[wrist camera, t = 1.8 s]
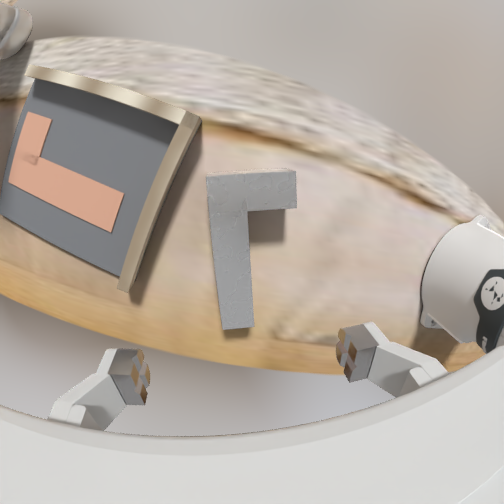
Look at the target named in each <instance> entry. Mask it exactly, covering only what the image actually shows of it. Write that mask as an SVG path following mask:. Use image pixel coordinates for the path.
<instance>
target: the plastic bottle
mask: <svg viewBox="0 0 504 504" xmlns="http://www.w3.org/2000/svg"><path fill="white" fill-rule="evenodd" d="M32 26H33V19H32V16H31V15H30V14H29V12H28V11H26V10H25V9H22V8H18V7H12V6H9V5H7V4H4V3H1V2H0V59H6V58H9V57H10V56H12V55H14V54H15V53H17V52H18V51H19V50H20V49H21V48H22V46H23V45H24V44H25V42H26V41H27V39H28V38H29V35H30V33H31V31H32Z"/></svg>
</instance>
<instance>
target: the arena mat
mask: <svg viewBox="0 0 504 504" xmlns="http://www.w3.org/2000/svg"><path fill="white" fill-rule="evenodd" d="M201 122H202V120H201ZM201 122H200V124H201ZM200 124H199V126H200ZM178 126H179V125H178V124H175V123H173V122H171V121H168V120H166V119H163V118H160V117H158V116H155V115H153V114H150V113H147V112H145V111H142V110H139V109H137V108H134V107H131V106H128V105H125V104H122V103H119V102H117V101H114V100H111V99H107V98H104V97H101V96H98V95H95V94H92V93H88V92H85V91H82V90H78V89H75V88H71V87H67V86H64V85H60V84H56V83H52V82H48V81H44V80H40V79H35V80H34V83H33V85H32V87H31V90H30V92H29V94H28V97H27V99H26V102H25V105H24V107H23V110H22V113H21V116H20V119H19V122H18V125H17V128H16V131H15V134H14V137H13V141H12V145H11V148H10V152H9V156H8V160H7V164H6V169H5V174H4V179H3V184H2V189H1V196H0V214H2V215H3V216H5V217H6V218H8V219H10V220H11V221H13V222H15V223H17V224H18V225H20V226H22V227H23V228H25V229H27V230H29V231H30V232H32V233H34V234H36V235H38V236H39V237H41V238H43V239H45V240H47V241H49V242H50V243H52V244H54V245H56V246H58V247H60V248H62V249H64V250H66V251H68V252H70V253H72V254H74V255H76V256H78V257H80V258H82V259H84V260H86V261H88V262H90V263H92V264H94V265H96V266H98V267H100V268H102V269H104V270H106V271H109V272H111V273H113V274H115V275H117V276H119V277H120V275H121V272H122V268H123V265H124V262H125V258H126V255H127V252H128V249H129V246H130V243H131V240H132V237H133V234H134V231H135V228H136V225H137V223H138V220H139V217H140V214H141V212H142V209H143V206H144V204H145V201H146V199H147V196H148V194H149V191H150V189H151V186H152V184H153V181H154V179H155V177H156V174H157V172H158V170H159V167H160V165H161V163H162V160H163V158H164V156H165V154H166V152H167V149H168V147H169V145H170V143H171V141H172V139H173V137H174V135H175V133H176V131H177V128H178ZM199 126H198V128H199ZM198 128H197V130H198ZM197 130H196V132H197ZM196 132H195V134H196ZM195 134H194V136H195ZM194 136H193V138H194ZM193 138H192V140H193ZM192 140H191V142H192ZM191 142H190V144H191ZM190 144H189V146H190ZM189 146H188V148H189ZM188 148H187V150H188ZM187 150H186V152H187ZM186 152H185V154H186ZM185 154H184V156H183V159H184V157H185ZM183 159H182V161H183ZM182 161H181V163H182ZM181 163H180V165H181ZM180 165H179V167H180ZM179 167H178V169H177V172H178V170H179ZM177 172H176V174H177ZM176 174H175V176H176ZM175 176H174V178H175ZM174 178H173V181H174ZM173 181H172V183H173ZM172 183H171V185H172ZM171 185H170V187H169V190H170V188H171ZM169 190H168V192H169ZM168 192H167V194H166V197H167V195H168ZM166 197H165V199H166ZM165 199H164V202H165ZM164 202H163V204H164ZM163 204H162V206H161V209H162V207H163ZM161 209H160V211H161ZM160 211H159V214H160ZM159 214H158V216H159ZM158 216H157V219H158ZM157 219H156V222H157ZM156 222H155V224H156ZM155 224H154V227H155ZM154 227H153V229H154ZM153 229H152V232H153ZM152 232H151V235H152ZM151 235H150V237H151ZM150 237H149V240H150ZM149 240H148V243H149ZM148 243H147V245H148ZM146 248H147V246H146ZM146 248H145V251H146ZM145 251H144V254H145ZM144 254H143V257H144ZM143 257H142V259H143ZM141 262H142V260H141ZM140 265H141V263H140ZM139 268H140V266H139ZM139 268H138V271H139ZM138 271H137V274H138ZM136 277H137V275H136ZM135 280H136V278H135ZM134 282H135V281H134Z"/></svg>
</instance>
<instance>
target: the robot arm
mask: <svg viewBox="0 0 504 504" xmlns="http://www.w3.org/2000/svg"><path fill="white" fill-rule="evenodd" d="M422 301H423V311H422V315H421V320H420V322H421V324H422V325H423V326H424V327H426V328H439V329H444V330H446V331H447V332H448V333H449V334H450V335H451V336H452V337H453V338H455V339H456V340H457V341H458V342H459V343H463V342H465V343H469V342H473V341H474V342H477V344H478V345H479V346H480V347H481V348H482V349H483V351H484V352H485V353H486V355H484V356H482V357H481V358H479V359H477V360H476V361H474V362H472V363H470V364H468V365H467V366H465V367H463V368H461V369H459V370H457V371H455V372H453V373H451V374H449V373H448V372H447V371H446V369H445V368H444V367H443V366H442V365H441V364H440V362H439V361H438V360H437V359H436V358H433V357H430V356H428V355H425V354H423V353H420V352H418V351H415V350H412V349H410V348H407V347H405V346H402V345H400V344H397V343H395V342H389V340H388V339H387V338H386V337H385V336H384V334H383V333H382V332H381V331H380V329H379V328H378V327H377V326H376V325H375V323H374V322H367V323H363V324H360V325H356V326H351V327H346V328H341V329H340V330H339V333H338V337H339V339H340V341H339V342H338V343H337V345H336V357H337V360H338V362H339V364H340V365H341V366H343V367H345V368H344V374H345V375H346V377H347V379H348V381H349V382H354V381H358V380H362V379H366V378H367V379H368V380H370V381H371V382H373V383H374V384H376V385H377V386H379V387H380V388H382V389H384V390H385V391H387V392H388V393H390V394H392V395H393V396H395V397H396V398H394V399H391V400H389V401H386V402H383V403H380V404H377V405H374V406H371V407H369V408H365V409H362V410H359V411H355V412H352V413H348V414H345V415H341V416H337V417H334V418H329V419H326V420H321V421H317V422H313V423H308V424H302V425H298V426H292V427H286V428H281V429H275V430H268V431H260V432H251V433H242V434H231V435H217V436H190V437H189V436H184V437H183V436H180V437H179V436H148V435H135V434H124V433H115V432H107V431H104V430H105V429H106V428H107V427H108V426H109V425H110V423H111V422H112V421H113V420H114V419H115V418H116V417H117V416H118V415H119V413H120V412H121V411H122V410H123V409H124V408H125V407H126V405H145V403H146V398H147V391H146V388H147V387H148V386H149V384H150V371H149V368H148V365H147V364H146V363H145V362H144V361H143V360H144V354H143V352H142V350H140V349H111V348H109V349H107V350H106V351H105V354H104V356H103V358H102V360H101V363H100V365H99V367H98V370H97V372H96V374H92V375H90V376H89V377H87V378H86V379H85V380H84V381H82V382H81V383H79V384H78V385H76V386H75V387H74V388H72V389H71V390H70V391H68V392H67V393H65V394H64V395H62V396H61V397H60V398H58V399H57V400H56V401H55V403H54V405H53V408H52V410H51V412H50V414H49V417H48V419H47V420H46V419H42V418H39V417H35V416H32V415H28V414H25V413H22V412H19V411H16V410H13V409H10V408H7V407H4V406H2V405H0V504H504V237H503V236H501V235H499V234H497V233H496V232H494V231H492V230H491V228H490V225H489V223H488V220H487V218H486V217H485V216H483V215H478V216H477V217H476V218H474V219H473V220H472V221H471V222H469V223H463V224H460V225H457V226H456V227H454V228H452V229H451V230H450V231H449V232H448V233H447V234H446V235H445V236H444V237H443V238H442V239H441V241H440V242H439V243H438V245H437V246H436V248H435V250H434V252H433V253H432V255H431V257H430V260H429V262H428V264H427V267H426V270H425V273H424V277H423V283H422Z"/></svg>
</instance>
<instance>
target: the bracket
mask: <svg viewBox="0 0 504 504" xmlns="http://www.w3.org/2000/svg"><path fill="white" fill-rule="evenodd" d="M206 184H207V196H208V207H209V218H210V228H211V238H212V247H213V256H214V265H215V274H216V282H217V290H218V298H219V306H220V314H221V321H222V328H223V330H225V329H236V328H246V327H254V314H253V298H252V281H251V265H250V248H249V231H248V214H247V211H260V210H274V209H290V208H297V194H296V171H293V170H290V169H286V168H273V169H253V170H238V171H224V172H213V173H208V174H207V176H206Z"/></svg>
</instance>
